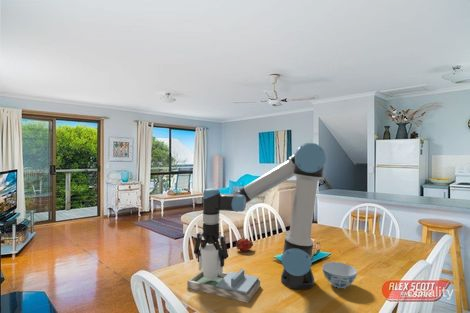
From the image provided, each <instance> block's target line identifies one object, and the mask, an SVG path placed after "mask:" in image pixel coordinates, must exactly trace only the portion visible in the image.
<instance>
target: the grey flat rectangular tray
mask: <svg viewBox="0 0 470 313" xmlns="http://www.w3.org/2000/svg"><path fill="white" fill-rule="evenodd" d="M228 273H229V272H224V271H223V272H222V273H221V274H220V275H219V274H218V276H217V277H216V278H214V279H207V278H205V277H204V275H203V269H202V270H199V271H198V273H196V274H194V275H193V276H192V277H191V278H189V279H188V280H187V284H186V285H187V289H192V290H194V291H195V290H196V291H199V292H204V293H208V294H210V295H211V294H212V295H216V296H220V297H224V298H228V299H231V300H236V301H239V302H243V303H247V304H249V303H250V301H251V300H252V299H253V297H254V296H255V294H256V293H257V291H259V289H260V288H261V279H258V280H257V281H256V283H255V284H254V285H253V287H252V288H251V289H250V290H249V292H248V293H247V294H244V293H240V292H236V291H232V290H227V289H223V288H219V287H216V284H217V283H219V282H220V281H221V280H222V279H223V278H224V277H225V276H226V275H227V274H228Z"/></svg>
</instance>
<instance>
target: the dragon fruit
mask: <svg viewBox="0 0 470 313" xmlns="http://www.w3.org/2000/svg"><path fill="white" fill-rule="evenodd" d="M253 246H254V243H253V241H251V240H249V239H248V238H247V237H246V238H244V237H243V238H239V239H237V241H235V247H236V250H237V251H238V250H239V251H240V252H244V253H245V252H246V251H247V252H249V251H251V249H252V247H253Z"/></svg>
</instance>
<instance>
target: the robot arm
mask: <svg viewBox="0 0 470 313" xmlns="http://www.w3.org/2000/svg"><path fill="white" fill-rule="evenodd" d="M326 158H327V155H326V153H325V150H324V148H322V146H321V145H319V144H318V143H315V142H306V143H302V144H301V145H300V146H299V147H298V148H297V149H296V151H295V153H293V154H292V155H291V156H289V157H288V159H287V160H286V161H284V162H283V163H281V164H279V165H278V166H276V167H274V168H273V169H271V170H269V171H268V172H266V173H264V174H263V175H261V176H260V177H258V178H256V179H254V180H253V181H251V182H250V183H248V184H246V185H244V186H243V187H241V188H239V189H237V190H236V191H234V192H232V193H222V192H221V191H220V189H219V188H216V187H215V188H214V187H211V188H209V187H208V188H205V189H204V190H203V192H202V193H203V194H202V232H201V231H200V232H198V233H197V234H196V241H195V245H194V249H193V254H195V255H196V256H197V263H198V271H201V270H203V266H202V258H201V253H200V251H201V247H202V249H204V248H205V247H206V245H207V244H213V245H214V246H215V248H216V250H218V255H219V258H220V259H219V260H218V274H219V275H220V274H221V273H222V272H224V271H223V267H225V260H227V259H228V258H229V252H228V248H227V244H226V243H227V242H226V235H221V234H220V223H219V222H220V211H225V212H226V211H227V212H235V213H237V212H244V211H245V210H246V206H247V203H249V202H251V201H252V200H254V199H256V198H258V197H259V196H261V195H263V194H265V193H266V192H268V191H269V190H271V189H274V188H276V187H277V186H279V185H280V184H282V183H284V182H286V181H287V180H290V179H291V178H293V177H295V179H296V180H295V189H294V195H293V203H292V208H291V209H292V212H291V219H290V226H289V232H286V233H285V237H284V242H283V251H282V255H281V265H282V267H283V269H282V272H281V275H280V276H281V277H280V281H281V283H282V285H284V286H286V287H287V288H290V289H295V290H309V289H311V288H313V287H314V286H315V276H314V274H313V270H312V268H311V267H312V265H313V264H312V263H313V262H312V256H313V247H314V241H313V240H312V236H311V234H312V228H313V218H314V214H315V212H314V211H315V205H316V198H317V195H316V194H317V190H318V182H319V181H320V180H321V179H322V178H323V175H324V165H325V163H326V160H327V159H326ZM202 239H203V240H202ZM201 243H202V244H201ZM220 246H221V247H220Z"/></svg>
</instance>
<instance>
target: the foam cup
mask: <svg viewBox="0 0 470 313" xmlns="http://www.w3.org/2000/svg"><path fill="white" fill-rule="evenodd" d="M200 247H201V246H200ZM220 247H221V245H220ZM221 248H222V247H221ZM200 253H201V258H202V266H203V269H202V270H203V275H204V277H205V278H207V279H214V278H216V277H217V276H218V260H219V259H220V258H219V255H218V250H216V248H215V246H214V245H213V244H211V243H207V245H206V247H205V248H204V249H202V247H201V251H200Z"/></svg>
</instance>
